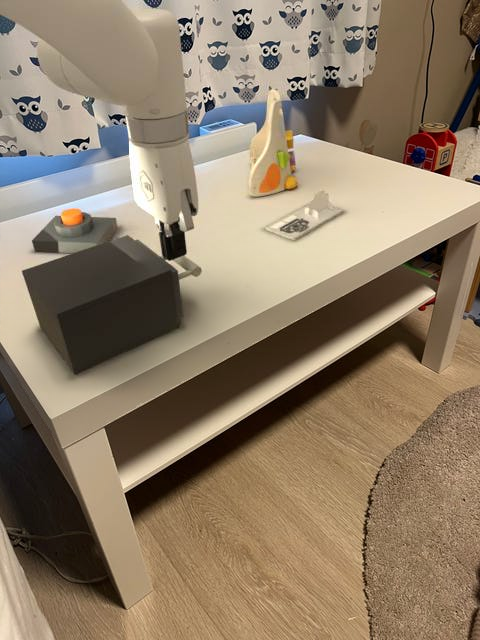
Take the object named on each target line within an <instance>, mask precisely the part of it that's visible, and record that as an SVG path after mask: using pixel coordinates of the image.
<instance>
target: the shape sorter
mask: <svg viewBox="0 0 480 640" xmlns="http://www.w3.org/2000/svg"><path fill="white" fill-rule="evenodd" d="M281 97H282V96H281V94H280V92H279V91H278V90H277V89H276V88H272V89H270V90H269V91H268V95H267V101H266V116H265V121H264V124H263V125H262V127H261V129H259V131H258V132H257V133H256V134H255V135H254V136H253V138H252V140H251V142H250V145H249V151H248V153H249V155H248V157H249V160H250V172H249V175H248V182H247V183H248V184H247V187H248V193H249V194H250V196H252V197H263V196H269V195H274V194H277V193H280V192H282V191H284V190H290V189H293V188H295V187H297V186H298V185H299V182H298V180H297V178H296V177H295V176H293V175H292V172H294V171H295V170H296V165H297V163H296V157H295V150H292V149H294V140H295V139H294V135H293V134H294V133H293V130H286V126H285V118H284V113H283V109H282V108H283V105H282V98H281ZM289 149H291V151H289Z"/></svg>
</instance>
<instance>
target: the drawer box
mask: <svg viewBox="0 0 480 640" xmlns="http://www.w3.org/2000/svg"><path fill="white" fill-rule="evenodd" d="M135 240H136V239H134V238H132V237H131V236H129V234H126V235H123V236H120V237H117V238H115V239H110V240H109V241H108V242H105V243H102V244H99V245H96V246H93V247H90V248H87V249H84V250H82V251H79V252H76V253H69V254H67V255H64V256H61V257H58V258H55V259H52V260H48V261H46V262H43V263H41V264H37V265H33V266H31V267H28V268H26V269H22V270H21V273H22V276H23V279H24V283H25V286H26V288H27V292H28V294H29V297H30V301H31V304H32V306H33V310H34V312H35V316H36V319H37V323H38V324H39V328H40V329H41V331H42V332H43V334H44V335H45V337H47V339H48V341H49V343H51V345H52V346H53V347H54V348H55V350H56V351H57V352H58V355H60V357H61V358H62V359H63V361H64V363H65V364H66V365H67V366H68V368H69V369H70V370H71V372H72V373H73V375H77V374H79V373H82V372H84V371H86V370H89V369H91V368H93V367H95V366H97V365H99V364H102V363H104V362H106V361H108V360H111V359H112V358H115V357H118V356H119V355H122V354H124V353H126V352H128V351H130V350H133V349H135V348H137V347H140V346H142V345H143V344H146V343H148V342H150V341H152V340H154V339H158V338H159V337H161V336H164V335H166V334H168V333H170V332H172V331H175V330H176V329H179V328H180V323H179V320H178V315H177V307H176V300H175V292H174V284H173V276H172V270H171V269H170V268H169V267H168V266H166V265H165V264H164V263H163V262H161V261H160V260H159V259H157V258H156V257H155V256H154V255H152V254H151V253H150V252H149V251H147V250H146V249H145V248H144V247H142V246H141V245H140V244H138V243H137V242H136V241H135Z"/></svg>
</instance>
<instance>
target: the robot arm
mask: <svg viewBox="0 0 480 640" xmlns="http://www.w3.org/2000/svg"><path fill="white" fill-rule="evenodd" d="M0 16H2V17H4V18H6V19H8V20H10V21H12V22H14V23H15V24H17V25H19V26H20V27H22V28H24V29H26V31H29V32H30V33H32V34H33V35H35V36H36V37H38V40H37V45H36V55H37V56H36V57H37V61H38V63H39V66H40V68H41V71H42V72H43V74H44V75H45V76H46V77H47V79H48V80H49V81H50V82H51V83H52V84H54V85H55V86H56V87H58V88H60V89H62V90H64V91H66V92H69V93H71V94H75V95H78V96H81V97H85V98H90V99H95V100H99V101H102V102H105V103H108V104H112V105H116V106H121V107H123V111H124V118H125V123H126V124H125V125H126V129H127V130H126V131H127V136H128V147H129V148H128V149H129V151H128V152H129V165H130V173H131V182H132V189H133V197H134V201H135V203H136V204H137V205H138V207H140V208H141V209H142V210H143V211H145V212H147V213H148V214H150V215H151V216H153V218H154V222H155V227H156V229H157V231H158V237H159V244H160V250H161V256H163V257H164V258H166V259H167V260H166V261H167V262H171V261H173V260H174V259H176V258H179V257H181V256H186V255H187V253H188V250H187V249H188V248H187V241H186V234H185V233H186V232H190V231H192V230H194V229H195V224H194V219H193V217H195V216H197V215H198V213H199V195H198V193H199V192H198V185H197V177H196V170H195V165H194V159H193V156H192V155H193V154H192V151H191V147H190V143H189V142H190V141H189V139H190V136H191V135H190V126H189V117H188V104H187V95H186V83H185V72H184V63H183V54H182V53H183V51H182V42H181V33H180V23H179V21H178V19H177V16H176V15H175V14H174V13H173V12H171V11H170V10H168V9H163V8H138V9H130V8H129V7H128V5H127V4H126V3H125V2H124V1H123V0H0Z"/></svg>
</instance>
